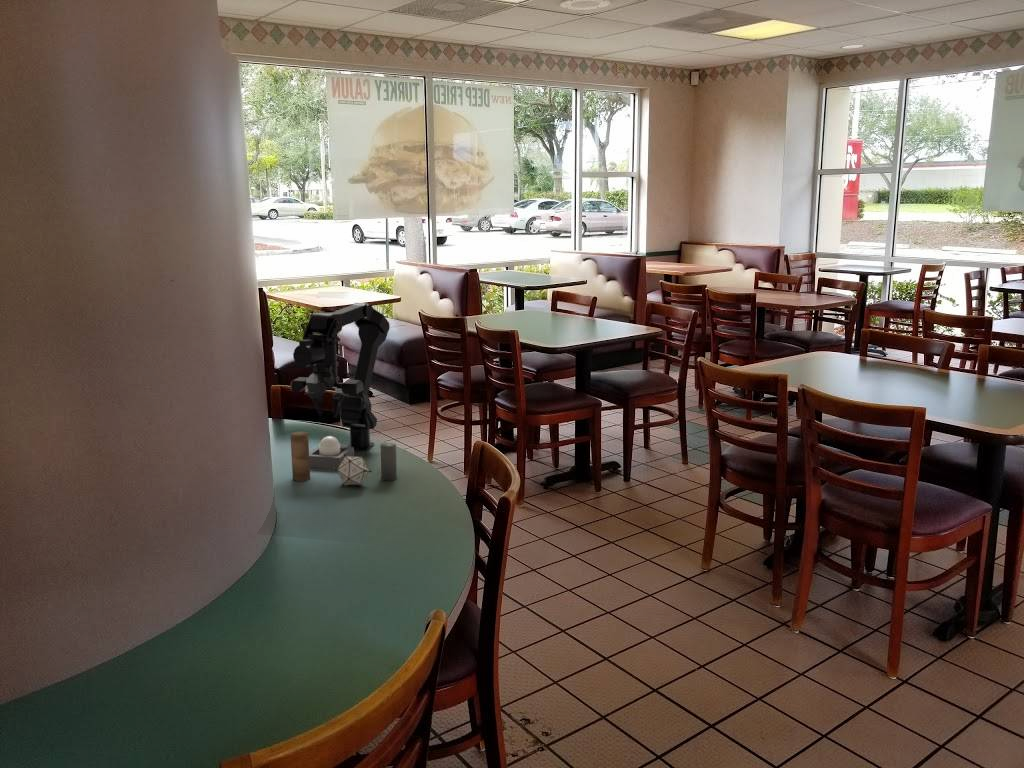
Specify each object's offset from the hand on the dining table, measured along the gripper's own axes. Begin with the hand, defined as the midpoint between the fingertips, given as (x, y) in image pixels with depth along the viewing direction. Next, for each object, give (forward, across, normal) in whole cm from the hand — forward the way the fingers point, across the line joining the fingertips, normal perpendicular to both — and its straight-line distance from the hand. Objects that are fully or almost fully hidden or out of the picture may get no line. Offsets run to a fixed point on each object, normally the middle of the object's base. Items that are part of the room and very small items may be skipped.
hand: (328, 416), depth 225 cm
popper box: (+13, 0, 0) cm, 13 cm away
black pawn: (+13, +20, -9) cm, 25 cm away
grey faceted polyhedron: (+13, +13, -16) cm, 25 cm away
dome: (+12, 0, 0) cm, 12 cm away
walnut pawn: (+13, -2, -14) cm, 19 cm away
